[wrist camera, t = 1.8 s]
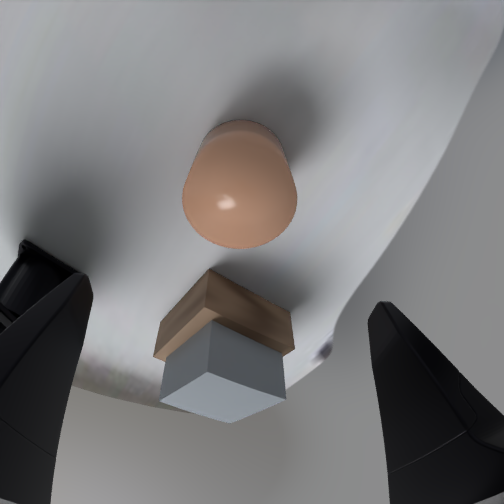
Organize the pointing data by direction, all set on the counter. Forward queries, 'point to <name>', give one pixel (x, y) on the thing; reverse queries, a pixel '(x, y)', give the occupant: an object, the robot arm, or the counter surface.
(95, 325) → the counter surface
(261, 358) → the slate slab
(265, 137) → the terracotta cylinder
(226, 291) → the walnut slab
